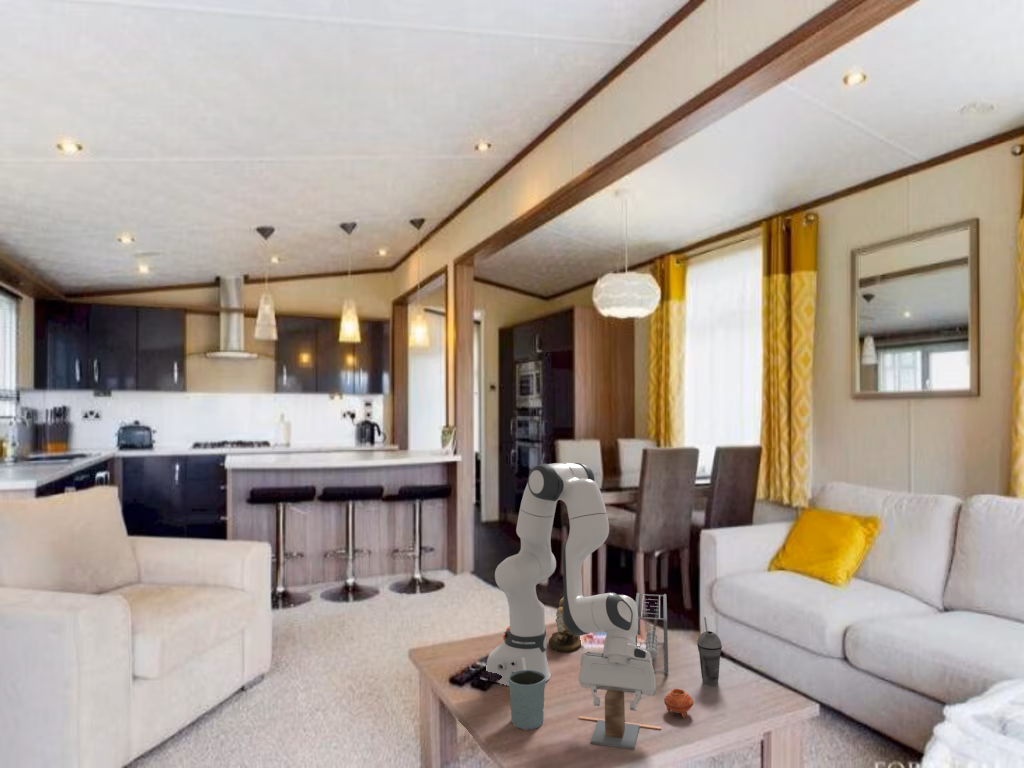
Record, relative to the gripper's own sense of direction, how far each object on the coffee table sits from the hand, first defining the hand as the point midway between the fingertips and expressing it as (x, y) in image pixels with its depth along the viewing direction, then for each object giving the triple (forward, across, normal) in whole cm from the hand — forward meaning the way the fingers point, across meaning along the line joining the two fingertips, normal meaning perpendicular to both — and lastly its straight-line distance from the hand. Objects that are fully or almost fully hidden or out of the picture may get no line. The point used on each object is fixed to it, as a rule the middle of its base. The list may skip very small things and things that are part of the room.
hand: (614, 707), depth 170 cm
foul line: (0, 0, +10) cm, 11 cm away
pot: (-7, +15, +18) cm, 24 cm away
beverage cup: (-23, +23, +33) cm, 46 cm away
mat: (+5, 0, +6) cm, 8 cm away
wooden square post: (+4, 0, +5) cm, 7 cm away
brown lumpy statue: (-37, -27, +48) cm, 67 cm away
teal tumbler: (+4, -24, +7) cm, 25 cm away
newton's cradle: (-34, +4, +45) cm, 56 cm away
